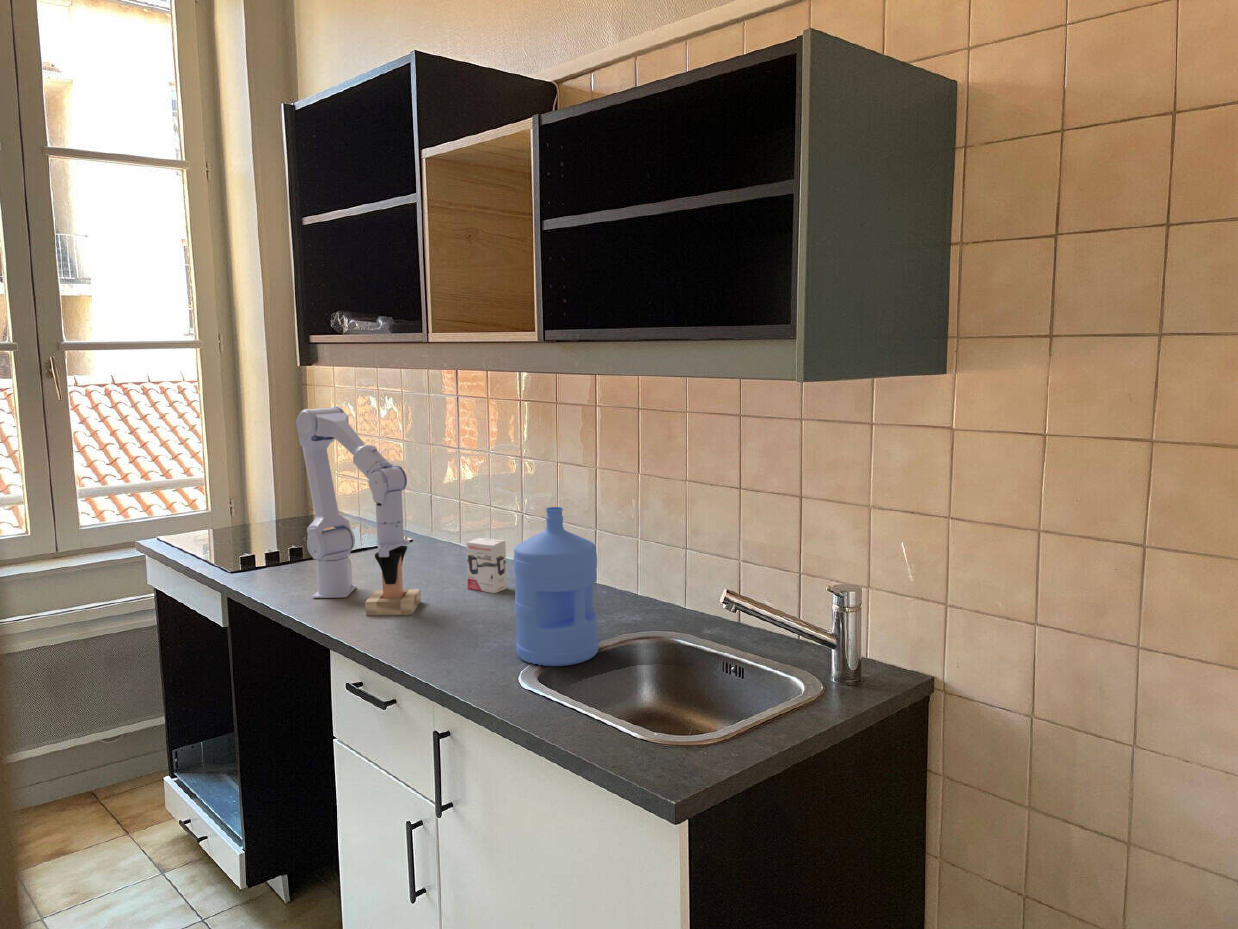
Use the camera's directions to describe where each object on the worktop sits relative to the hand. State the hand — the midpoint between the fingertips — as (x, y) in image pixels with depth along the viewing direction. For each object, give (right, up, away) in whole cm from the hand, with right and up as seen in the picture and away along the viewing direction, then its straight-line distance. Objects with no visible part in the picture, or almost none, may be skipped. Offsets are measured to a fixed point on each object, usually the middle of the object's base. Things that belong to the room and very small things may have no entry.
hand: (392, 581), depth 206 cm
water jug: (+39, -10, -30) cm, 50 cm away
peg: (0, -4, +1) cm, 4 cm away
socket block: (0, -6, +1) cm, 6 cm away
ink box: (+19, -4, +16) cm, 25 cm away
